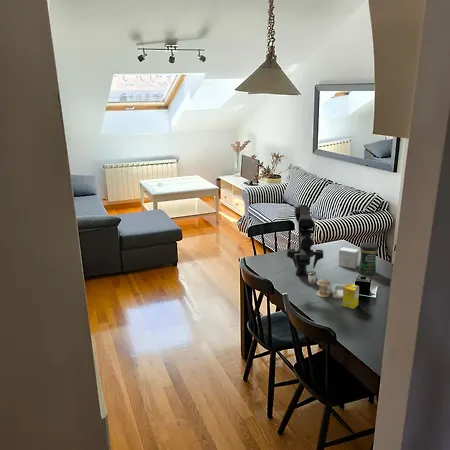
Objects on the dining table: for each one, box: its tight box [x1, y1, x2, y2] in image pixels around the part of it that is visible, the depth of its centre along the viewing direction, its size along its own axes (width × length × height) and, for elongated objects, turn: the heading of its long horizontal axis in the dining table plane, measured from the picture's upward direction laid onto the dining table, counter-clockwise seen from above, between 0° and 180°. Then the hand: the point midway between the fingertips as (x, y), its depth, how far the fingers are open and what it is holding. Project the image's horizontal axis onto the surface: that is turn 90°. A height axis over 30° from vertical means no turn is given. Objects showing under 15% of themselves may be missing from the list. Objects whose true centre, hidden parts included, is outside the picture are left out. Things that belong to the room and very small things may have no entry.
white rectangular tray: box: [331, 283, 347, 299], centre depth 227 cm, size 10×12×3 cm
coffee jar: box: [358, 242, 378, 276], centre depth 249 cm, size 10×8×19 cm
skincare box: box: [338, 246, 360, 270], centre depth 261 cm, size 10×6×10 cm, turn 56°
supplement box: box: [342, 282, 360, 311], centre depth 212 cm, size 6×6×11 cm
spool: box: [316, 278, 331, 298], centre depth 227 cm, size 7×7×7 cm
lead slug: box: [307, 270, 317, 286], centre depth 239 cm, size 4×4×7 cm
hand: (304, 268), depth 229 cm, fingers open, 9 cm apart
